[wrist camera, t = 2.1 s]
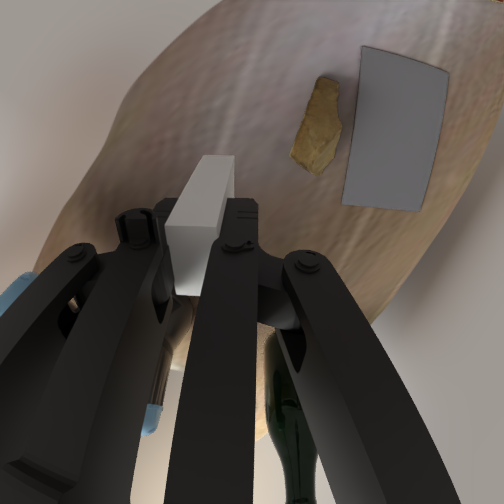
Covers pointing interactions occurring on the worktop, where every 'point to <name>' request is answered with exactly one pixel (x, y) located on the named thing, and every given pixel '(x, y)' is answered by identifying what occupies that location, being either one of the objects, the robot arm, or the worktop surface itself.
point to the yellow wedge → (318, 128)
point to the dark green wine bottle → (288, 426)
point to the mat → (394, 131)
